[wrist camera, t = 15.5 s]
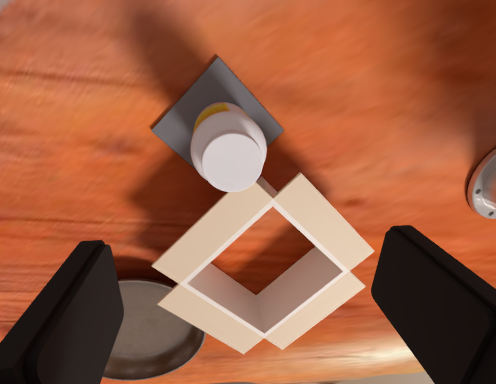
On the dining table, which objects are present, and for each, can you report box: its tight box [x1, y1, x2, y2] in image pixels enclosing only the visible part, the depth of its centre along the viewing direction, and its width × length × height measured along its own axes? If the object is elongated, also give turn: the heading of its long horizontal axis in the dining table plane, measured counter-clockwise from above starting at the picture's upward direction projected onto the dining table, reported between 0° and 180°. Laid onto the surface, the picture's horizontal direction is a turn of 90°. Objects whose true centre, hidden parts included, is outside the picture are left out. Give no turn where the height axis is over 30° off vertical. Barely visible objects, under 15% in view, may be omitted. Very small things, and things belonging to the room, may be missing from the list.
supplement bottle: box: [191, 102, 267, 192], centre depth 26 cm, size 7×7×13 cm
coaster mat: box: [152, 57, 284, 191], centre depth 32 cm, size 11×11×1 cm
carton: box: [152, 172, 374, 354], centre depth 36 cm, size 23×23×7 cm
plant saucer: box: [102, 278, 206, 381], centre depth 41 cm, size 21×21×3 cm
